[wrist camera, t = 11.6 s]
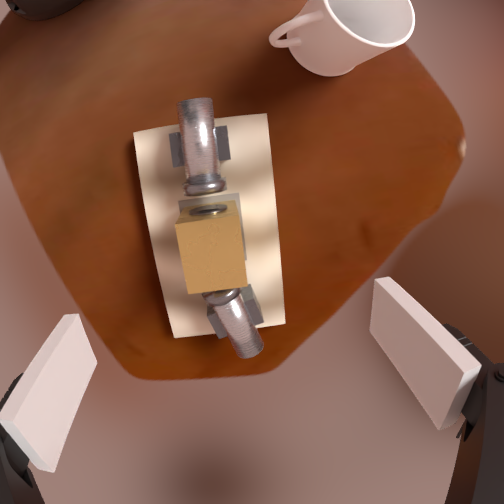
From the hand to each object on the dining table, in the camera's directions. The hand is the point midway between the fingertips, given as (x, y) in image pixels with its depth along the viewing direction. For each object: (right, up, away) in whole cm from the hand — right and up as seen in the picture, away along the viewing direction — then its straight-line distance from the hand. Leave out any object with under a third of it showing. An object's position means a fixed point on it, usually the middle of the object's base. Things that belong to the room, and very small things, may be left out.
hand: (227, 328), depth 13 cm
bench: (-3, +5, +21) cm, 22 cm away
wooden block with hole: (-3, +5, +19) cm, 20 cm away
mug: (+7, +25, +15) cm, 31 cm away
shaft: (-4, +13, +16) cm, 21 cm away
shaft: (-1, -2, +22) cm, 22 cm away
